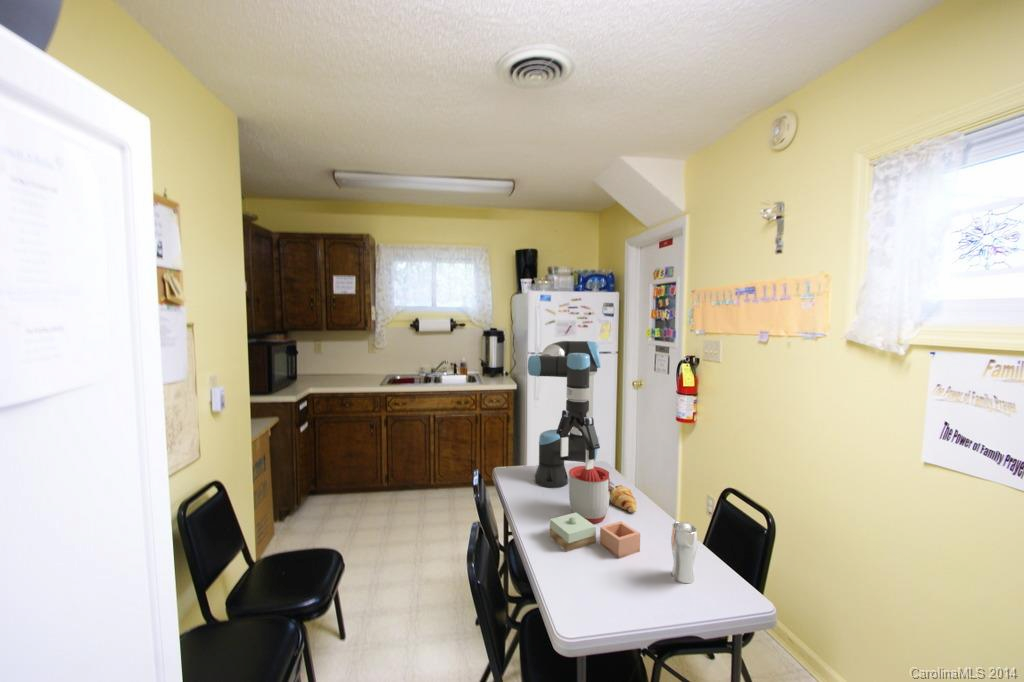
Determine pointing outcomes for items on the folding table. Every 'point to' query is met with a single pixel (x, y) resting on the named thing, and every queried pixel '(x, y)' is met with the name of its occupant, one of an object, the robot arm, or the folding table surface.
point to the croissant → (623, 498)
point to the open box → (620, 539)
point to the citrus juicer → (589, 492)
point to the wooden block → (572, 545)
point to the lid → (572, 527)
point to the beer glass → (683, 551)
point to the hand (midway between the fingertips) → (576, 462)
